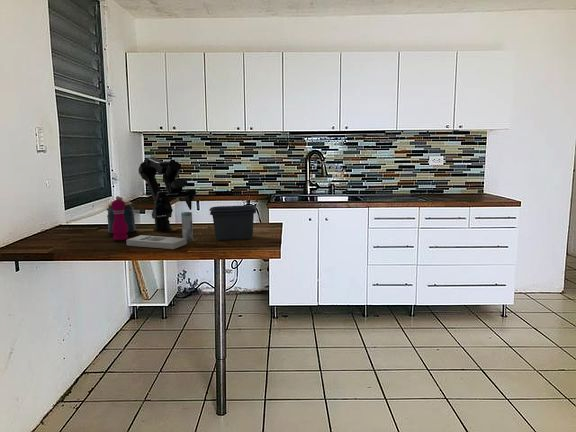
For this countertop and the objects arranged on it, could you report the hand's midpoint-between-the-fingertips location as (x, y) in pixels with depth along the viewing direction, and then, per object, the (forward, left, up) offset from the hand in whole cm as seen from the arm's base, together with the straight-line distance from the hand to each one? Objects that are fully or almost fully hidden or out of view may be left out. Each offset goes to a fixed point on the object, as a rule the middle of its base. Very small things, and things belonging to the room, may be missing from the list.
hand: (181, 210), depth 212 cm
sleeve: (+6, -6, -13) cm, 15 cm away
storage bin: (+23, +8, -13) cm, 27 cm away
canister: (-38, +4, -13) cm, 41 cm away
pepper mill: (-27, -10, -13) cm, 32 cm away
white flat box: (-3, -16, -13) cm, 20 cm away
